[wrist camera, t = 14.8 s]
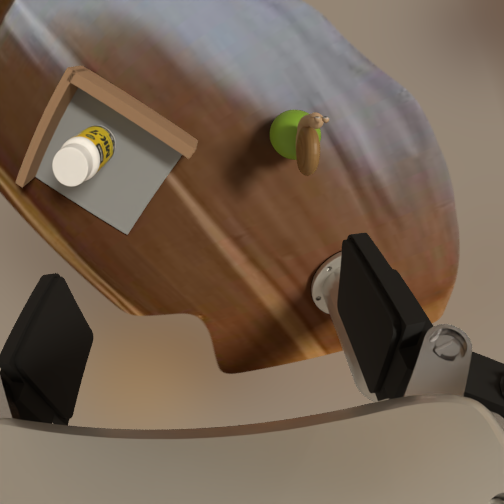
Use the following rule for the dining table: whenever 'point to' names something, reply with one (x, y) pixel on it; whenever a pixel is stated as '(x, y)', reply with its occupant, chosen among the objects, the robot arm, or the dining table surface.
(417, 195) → the dining table surface
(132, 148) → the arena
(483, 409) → the robot arm
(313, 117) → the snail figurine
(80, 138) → the supplement bottle
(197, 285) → the dining table surface
